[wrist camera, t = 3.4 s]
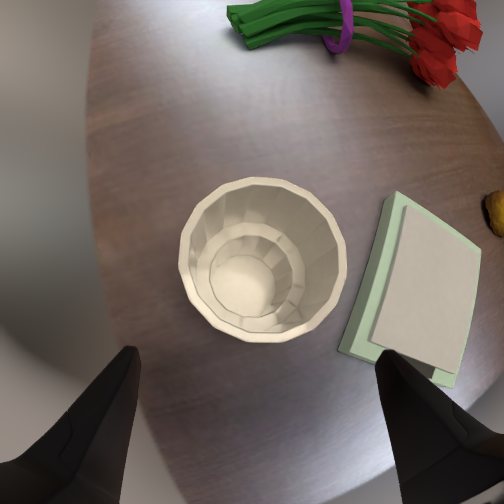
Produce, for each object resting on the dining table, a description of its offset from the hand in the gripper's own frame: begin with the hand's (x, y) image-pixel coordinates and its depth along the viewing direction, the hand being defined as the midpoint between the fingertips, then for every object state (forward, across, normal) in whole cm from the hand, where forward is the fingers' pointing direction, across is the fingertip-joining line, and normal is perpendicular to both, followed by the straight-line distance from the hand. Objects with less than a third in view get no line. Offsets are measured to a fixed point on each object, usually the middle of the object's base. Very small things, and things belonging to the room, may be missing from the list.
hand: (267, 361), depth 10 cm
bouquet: (+32, -12, -16) cm, 38 cm away
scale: (+10, -16, +5) cm, 19 cm away
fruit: (+17, -33, -1) cm, 37 cm away
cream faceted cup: (+10, 0, +5) cm, 12 cm away
